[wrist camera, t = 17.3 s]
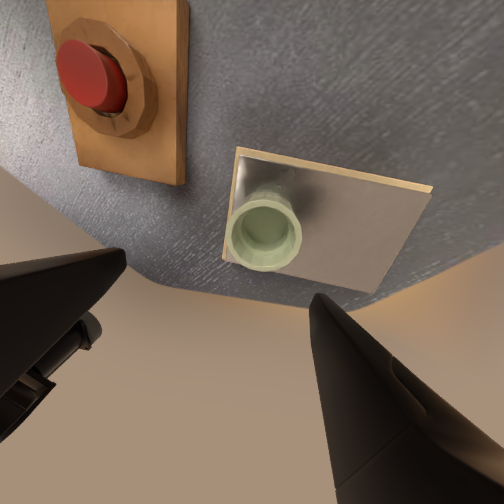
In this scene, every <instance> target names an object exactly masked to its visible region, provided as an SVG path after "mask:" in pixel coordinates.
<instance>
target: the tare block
mask: <svg viewBox="0 0 504 504" xmlns="http://www.w3.org/2000/svg"><path fill="white" fill-rule="evenodd" d="M46 5H47V9H48V14H49V19H50V24H51V29H52V34H53V39H54V44H55V49H56V57H55V62H56V67H57V55H58V51H59V49H60V47H61V45H62V44H63V43H64V42H65V41H67V40H70V39H77V40H81V41H83V42H85V43H87V44H88V45H90V46H91V47H93V48H95V49H96V50H98V51H99V52H101V53H103V54H104V55H106V56H107V57H109V58H110V59H112V60H113V61H114V62H115V63H116V65H117V66H118V67H119V69H120V70H121V72H122V74H123V76H124V78H125V82H126V86H127V99H126V103H125V105H124V107H123V108H122V109H121V110H120V111H118V112H116V113H107V112H103V111H100V110H97V109H93V108H90V107H86V106H84V105H82V104H80V103H78V102H77V101H76V100H75V99H74V98H73V97H72V96H71V95H70V94H69V93H68V92H67V90H66V89H65V87H64V85H63V83H62V81H61V79H60V76H59V72H58V76H59V81H60V86H61V89H62V92H63V93H64V95H65V97H66V102H67V107H68V112H69V117H70V122H71V127H72V132H73V137H74V141H75V146H76V151H77V156H78V161H79V165H80V166H85V167H89V168H94V169H99V170H103V171H108V172H113V173H117V174H122V175H127V176H132V177H136V178H141V179H146V180H150V181H155V182H160V183H164V184H169V185H174V186H177V185H182V184H185V164H186V123H187V83H188V42H189V3H188V1H187V0H46ZM57 71H58V67H57Z"/></svg>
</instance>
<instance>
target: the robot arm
mask: <svg viewBox="0 0 504 504" xmlns="http://www.w3.org/2000/svg"><path fill="white" fill-rule="evenodd" d="M126 266H127V263H126V254H125V251H124V250H123V249H120V248H116V247H112V248H106V249H100V250H93V251H87V252H81V253H75V254H68V255H62V256H55V257H49V258H43V259H36V260H31V261H24V262H18V263H11V264H5V265H0V443H1V442H2V441H3V440H5V439H6V438H7V437H8V436H9V435H10V434H11V433H12V432H13V431H14V430H15V429H17V427H19V426H20V424H21V423H22V422H23V421H24V420H25V419H26V418H27V417H28V416H29V415H30V414H31V413H32V411H33V410H34V409H35V408H36V407H37V406H38V405H39V404H40V402H41V401H42V400H43V399H44V398H45V397H46V396H47V395H48V393H49V392H50V391H51V390H52V389H53V388H54V387H55V386H56V383H54V382H51V381H50V380H48V379H47V378H48V377H49V376H50V375H51V374H53V373H54V372H55V371H56V370H57V369H58V368H59V367H60V366H61V365H62V364H63V363H64V362H65V361H66V360H67V359H69V358H70V357H71V356H72V355H73V354H74V353H75V352H76V351H77V350H78V349H83V350H90V349H91V343H90V340H89V337H88V333H87V330H86V326H85V323H84V321H83V320H82V319H80V318H81V317H82V316H83V315H84V314H85V313H86V312H87V311H88V310H89V309H90V308H91V307H92V306H93V305H94V304H95V303H96V302H97V301H98V300H99V299H100V298H101V297H102V296H103V295H104V294H105V293H106V292H107V291H108V290H109V288H110V287H111V286H112V285H113V284H114V282H115V281H116V280H117V279H118V278H119V276H120V275H121V274H122V273H123V272H124V270H125V268H126ZM309 318H310V338H311V347H312V353H313V358H314V365H315V371H316V377H317V383H318V389H319V394H320V401H321V407H322V412H323V419H324V425H325V431H326V437H327V443H328V449H329V455H330V461H331V467H332V473H333V478H334V485H335V488H336V498H337V503H338V504H504V448H502V447H501V446H500V445H499V444H497V443H496V442H495V441H494V440H492V439H491V438H490V437H489V436H488V435H486V434H485V433H484V432H483V431H481V430H480V429H479V428H478V427H477V426H475V425H474V424H473V423H472V422H471V421H469V420H468V419H467V418H466V417H464V416H463V415H462V414H461V413H460V412H458V411H457V410H456V409H455V408H454V407H452V406H451V405H450V404H449V403H448V402H446V401H445V400H444V399H443V398H442V397H440V396H439V395H438V394H437V393H435V392H434V391H433V390H432V389H431V388H430V387H428V386H427V385H426V384H425V383H424V382H422V381H421V380H420V379H419V378H418V377H417V376H416V375H414V374H413V373H412V372H411V371H410V370H409V369H408V368H406V367H405V366H404V365H403V364H402V363H401V362H400V361H399V360H398V359H397V358H395V357H394V356H393V357H392V354H391V353H390V352H389V351H387V349H385V348H384V347H383V346H382V345H381V344H380V343H379V342H378V341H377V340H375V339H374V338H373V337H372V336H371V335H370V334H369V333H368V332H367V331H366V330H364V329H363V328H362V327H361V326H360V325H359V324H358V323H357V322H356V321H355V320H353V319H352V318H351V317H350V316H349V315H348V314H347V313H346V312H345V311H343V310H342V309H341V308H340V307H339V306H338V305H337V304H336V303H335V302H334V301H332V300H331V299H330V298H329V297H328V296H327V295H326V294H323V293H318V292H317V293H316V294H315V295H314V297H313V300H312V302H311V304H310V307H309Z"/></svg>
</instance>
